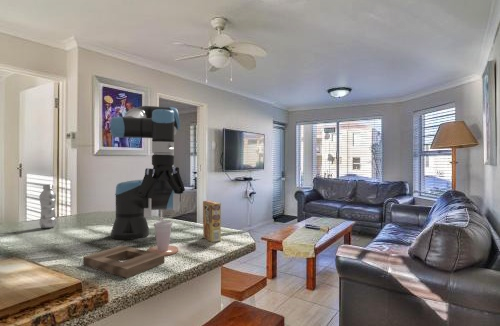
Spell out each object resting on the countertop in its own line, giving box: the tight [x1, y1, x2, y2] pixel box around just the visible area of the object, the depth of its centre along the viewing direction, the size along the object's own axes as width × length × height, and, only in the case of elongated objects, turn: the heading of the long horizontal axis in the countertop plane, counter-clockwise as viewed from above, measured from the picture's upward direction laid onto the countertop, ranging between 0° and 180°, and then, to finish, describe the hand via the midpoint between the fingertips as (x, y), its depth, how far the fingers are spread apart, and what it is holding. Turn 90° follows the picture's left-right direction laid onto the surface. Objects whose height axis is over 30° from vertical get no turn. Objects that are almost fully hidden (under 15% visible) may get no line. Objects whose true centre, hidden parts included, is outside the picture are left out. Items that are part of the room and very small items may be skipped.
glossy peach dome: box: [145, 244, 180, 257], centre depth 107 cm, size 11×11×1 cm
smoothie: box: [153, 210, 173, 251], centre depth 107 cm, size 6×6×14 cm
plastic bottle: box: [38, 184, 58, 229], centre depth 140 cm, size 6×7×20 cm
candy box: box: [202, 200, 222, 243], centre depth 123 cm, size 9×4×15 cm, turn 33°
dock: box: [82, 244, 165, 279], centre depth 94 cm, size 20×14×2 cm
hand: (162, 214), depth 107 cm, fingers open, 13 cm apart
